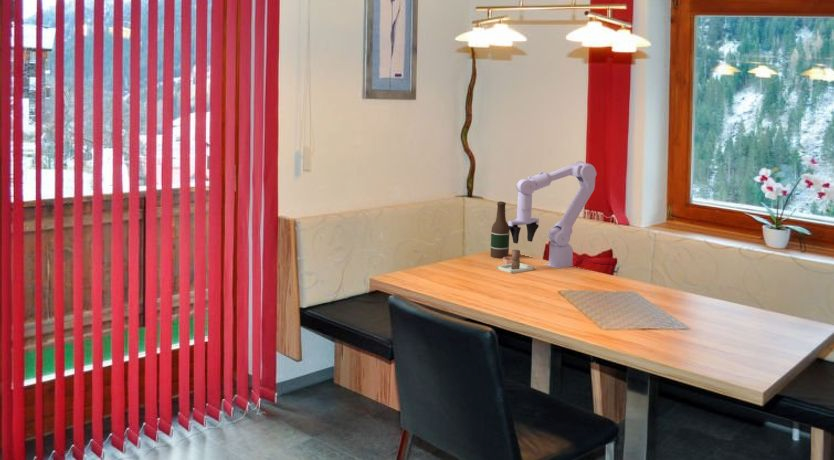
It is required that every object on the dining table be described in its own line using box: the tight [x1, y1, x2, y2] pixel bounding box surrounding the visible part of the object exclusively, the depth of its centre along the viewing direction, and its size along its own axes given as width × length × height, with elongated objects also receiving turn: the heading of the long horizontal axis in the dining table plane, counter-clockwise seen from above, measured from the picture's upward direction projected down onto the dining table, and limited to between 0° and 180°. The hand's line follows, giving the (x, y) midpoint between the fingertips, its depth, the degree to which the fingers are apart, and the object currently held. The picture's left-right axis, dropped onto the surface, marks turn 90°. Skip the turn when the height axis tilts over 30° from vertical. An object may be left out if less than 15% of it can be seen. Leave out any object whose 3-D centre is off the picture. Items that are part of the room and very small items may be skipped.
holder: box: [502, 256, 512, 265], centre depth 364 cm, size 6×6×2 cm
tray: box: [496, 262, 535, 274], centre depth 354 cm, size 12×9×2 cm
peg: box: [511, 249, 521, 270], centre depth 354 cm, size 3×3×8 cm
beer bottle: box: [490, 201, 511, 260], centre depth 374 cm, size 8×8×24 cm
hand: (522, 242), depth 358 cm, fingers open, 7 cm apart
